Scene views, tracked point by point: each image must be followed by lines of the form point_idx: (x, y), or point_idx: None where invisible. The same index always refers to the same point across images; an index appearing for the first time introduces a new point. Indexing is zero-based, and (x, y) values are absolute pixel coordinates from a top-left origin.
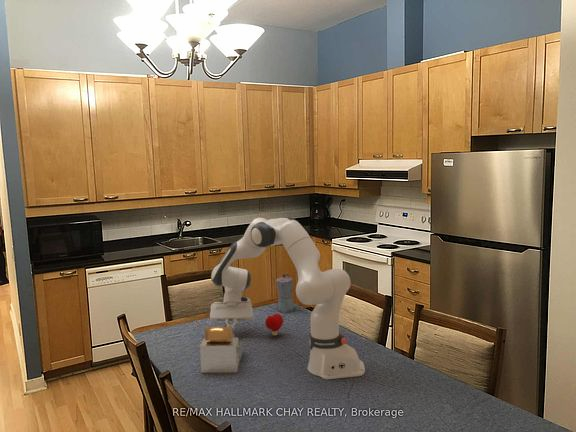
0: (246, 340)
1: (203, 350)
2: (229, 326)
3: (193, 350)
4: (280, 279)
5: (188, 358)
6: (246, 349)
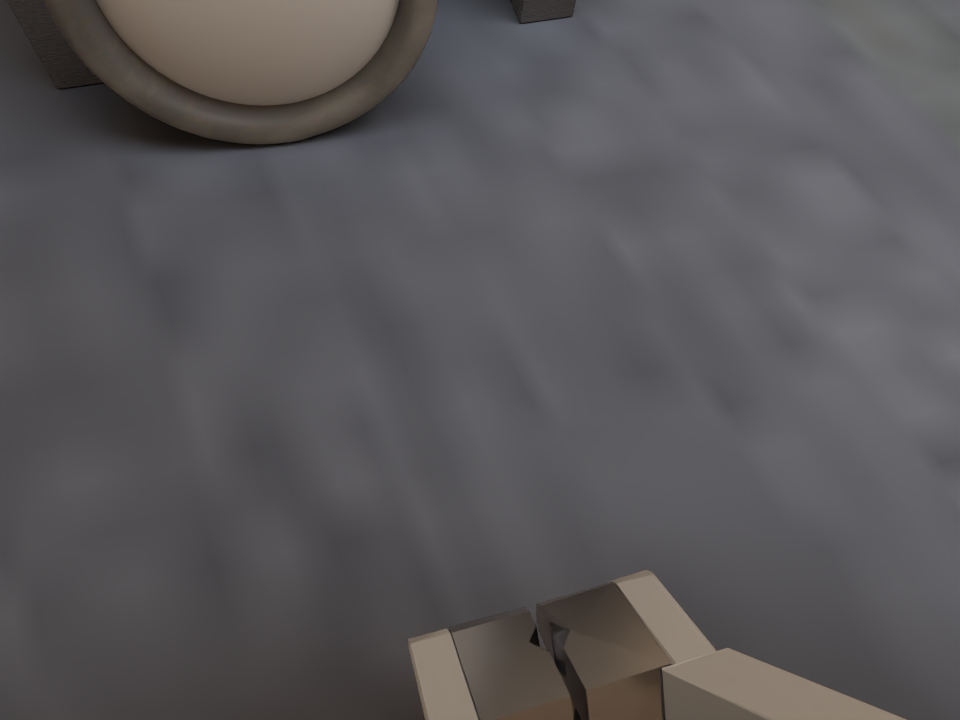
0: (84, 710)
1: None
2: (592, 624)
3: (882, 95)
4: None
5: None
6: (6, 255)
